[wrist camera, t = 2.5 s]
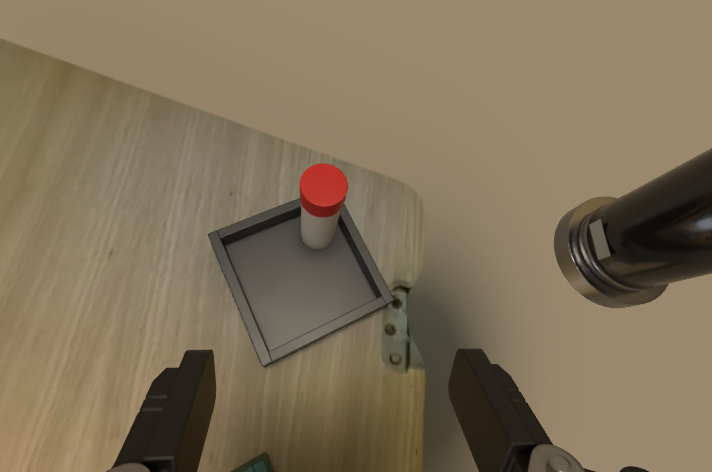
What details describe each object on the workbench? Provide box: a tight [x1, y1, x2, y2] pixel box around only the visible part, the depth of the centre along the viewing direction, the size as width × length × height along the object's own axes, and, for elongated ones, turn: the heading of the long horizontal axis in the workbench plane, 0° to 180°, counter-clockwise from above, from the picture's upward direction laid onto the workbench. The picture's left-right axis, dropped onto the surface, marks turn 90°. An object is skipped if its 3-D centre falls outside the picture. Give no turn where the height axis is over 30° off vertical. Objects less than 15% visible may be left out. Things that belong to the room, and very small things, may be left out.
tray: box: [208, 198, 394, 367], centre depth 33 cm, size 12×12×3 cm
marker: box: [300, 164, 348, 250], centre depth 30 cm, size 3×3×10 cm
